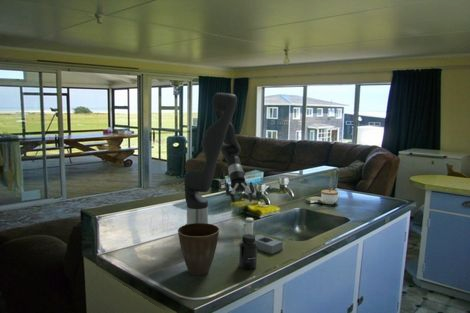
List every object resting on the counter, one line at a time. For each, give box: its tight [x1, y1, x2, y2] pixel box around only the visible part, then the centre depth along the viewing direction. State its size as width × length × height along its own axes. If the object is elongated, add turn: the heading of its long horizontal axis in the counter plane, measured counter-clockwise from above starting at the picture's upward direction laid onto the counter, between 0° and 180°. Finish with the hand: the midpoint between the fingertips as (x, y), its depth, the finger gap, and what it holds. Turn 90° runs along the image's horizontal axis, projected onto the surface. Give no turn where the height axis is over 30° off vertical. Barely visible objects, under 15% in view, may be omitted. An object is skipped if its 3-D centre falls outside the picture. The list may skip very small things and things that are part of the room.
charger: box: [245, 217, 254, 235], centre depth 167 cm, size 4×4×10 cm
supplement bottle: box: [238, 233, 258, 271], centre depth 137 cm, size 7×7×12 cm
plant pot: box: [177, 223, 220, 276], centre depth 132 cm, size 15×15×16 cm
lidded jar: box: [320, 188, 339, 205], centre depth 235 cm, size 11×11×9 cm
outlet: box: [254, 234, 283, 255], centre depth 156 cm, size 7×13×4 cm, turn 46°
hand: (242, 201), depth 177 cm, fingers open, 8 cm apart
